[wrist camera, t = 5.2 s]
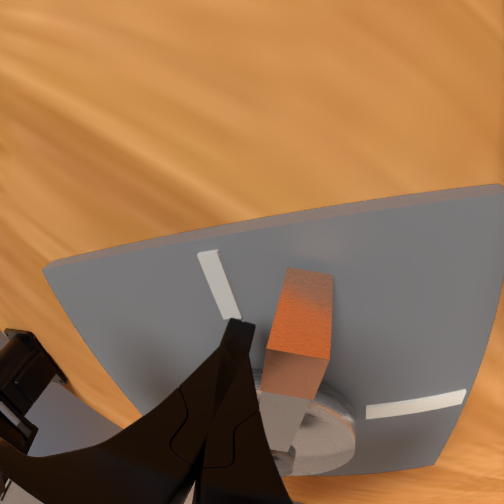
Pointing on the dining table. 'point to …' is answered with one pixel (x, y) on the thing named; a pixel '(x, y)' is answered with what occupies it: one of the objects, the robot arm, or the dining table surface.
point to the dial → (303, 382)
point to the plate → (343, 308)
